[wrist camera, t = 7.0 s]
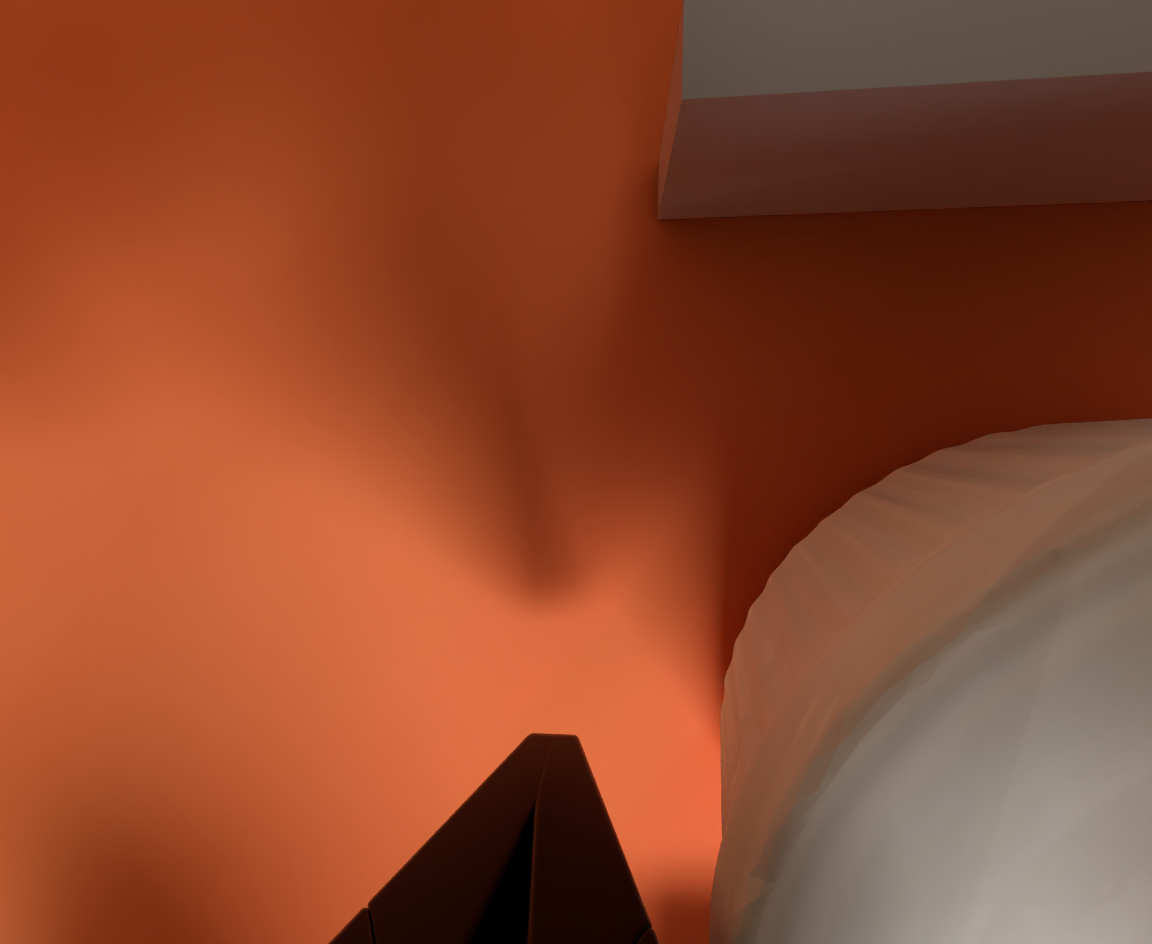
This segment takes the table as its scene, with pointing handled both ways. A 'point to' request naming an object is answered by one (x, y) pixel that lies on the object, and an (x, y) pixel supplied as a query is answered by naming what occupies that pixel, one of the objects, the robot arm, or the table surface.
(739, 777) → the ramekin
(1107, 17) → the box
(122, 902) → the table surface
